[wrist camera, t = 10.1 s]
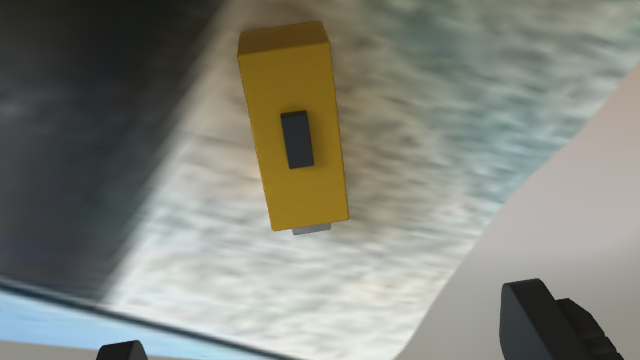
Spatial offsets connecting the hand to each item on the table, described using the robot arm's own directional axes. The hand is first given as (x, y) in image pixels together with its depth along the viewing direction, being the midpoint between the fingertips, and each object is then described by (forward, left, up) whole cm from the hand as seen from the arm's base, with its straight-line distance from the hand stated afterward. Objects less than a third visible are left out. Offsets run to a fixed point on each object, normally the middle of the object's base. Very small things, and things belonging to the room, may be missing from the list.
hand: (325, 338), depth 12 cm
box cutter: (0, 0, -11) cm, 11 cm away
